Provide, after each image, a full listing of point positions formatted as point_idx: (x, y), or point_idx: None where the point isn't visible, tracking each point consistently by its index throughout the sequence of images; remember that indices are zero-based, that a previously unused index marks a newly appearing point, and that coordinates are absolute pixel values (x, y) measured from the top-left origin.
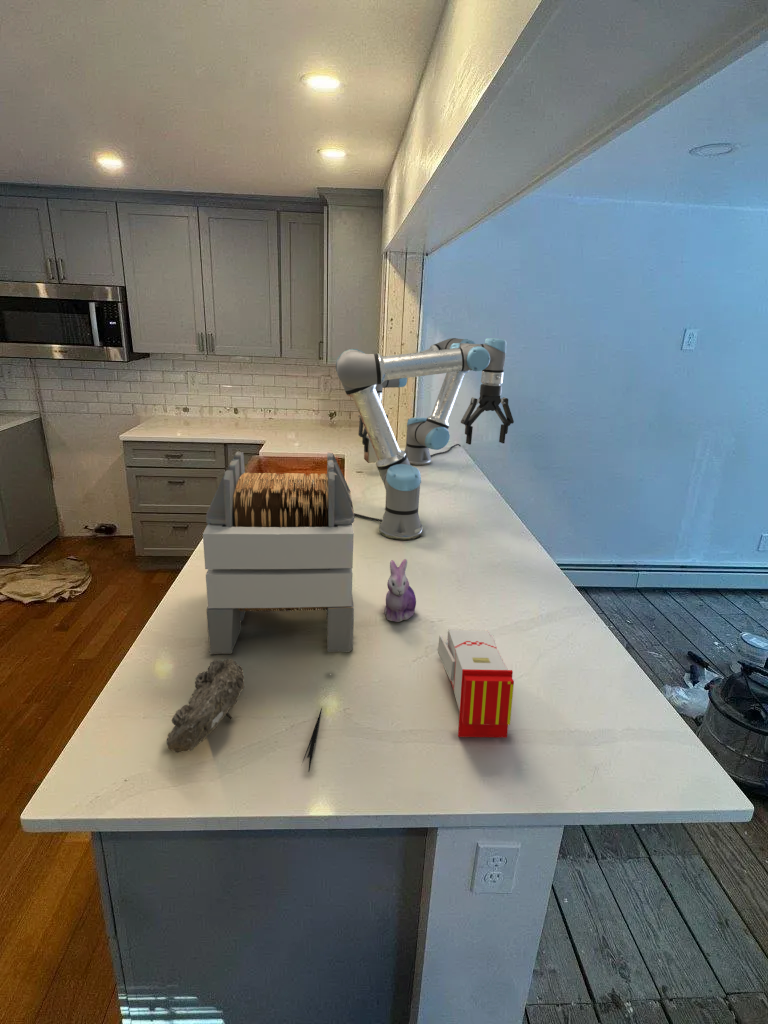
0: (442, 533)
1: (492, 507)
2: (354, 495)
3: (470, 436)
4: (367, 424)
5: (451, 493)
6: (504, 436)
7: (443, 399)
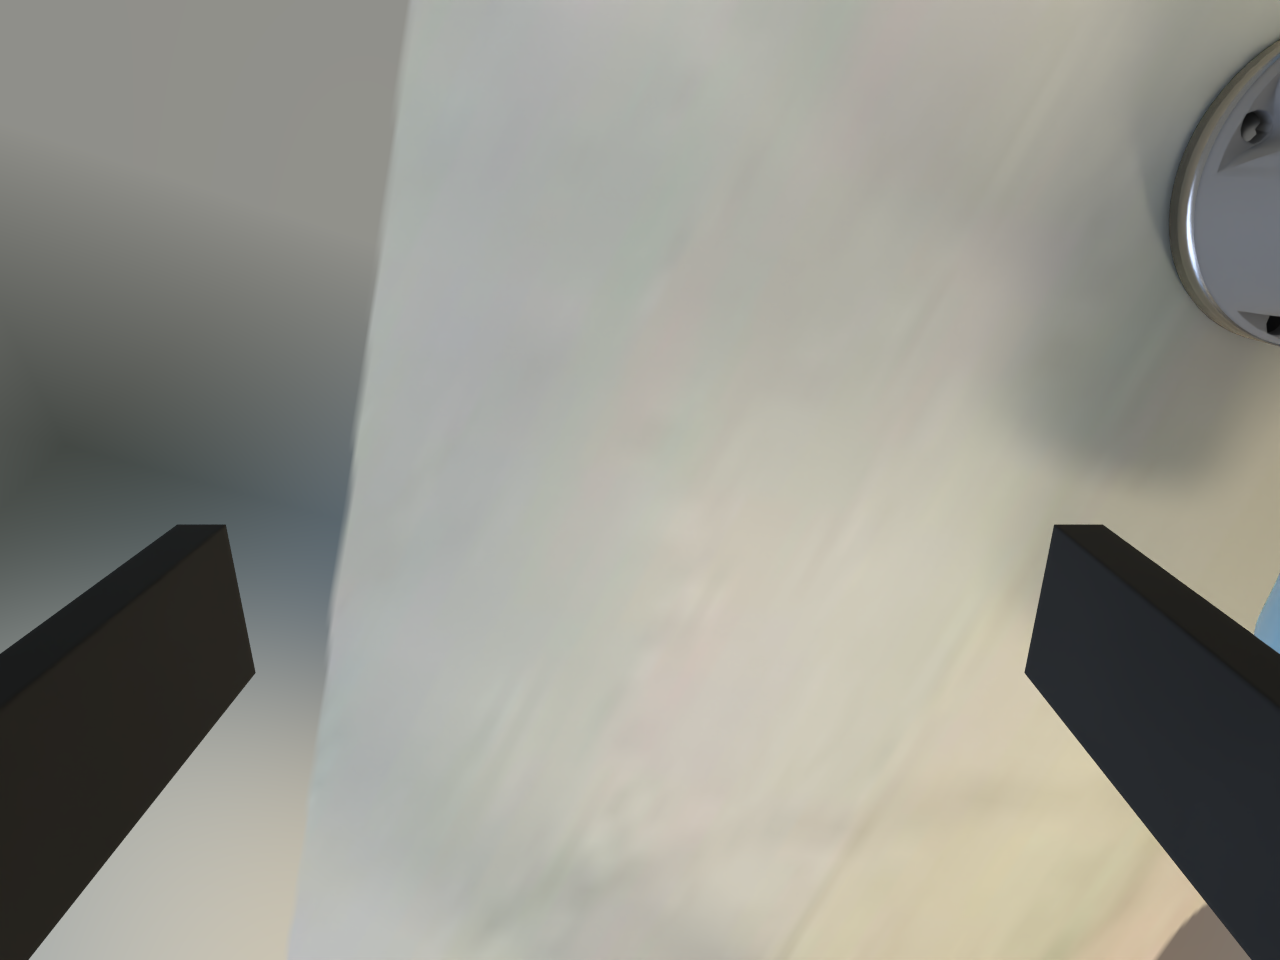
0: (1044, 94)
1: (413, 521)
2: None
3: (1219, 624)
4: None
5: (581, 806)
6: (87, 609)
7: None
